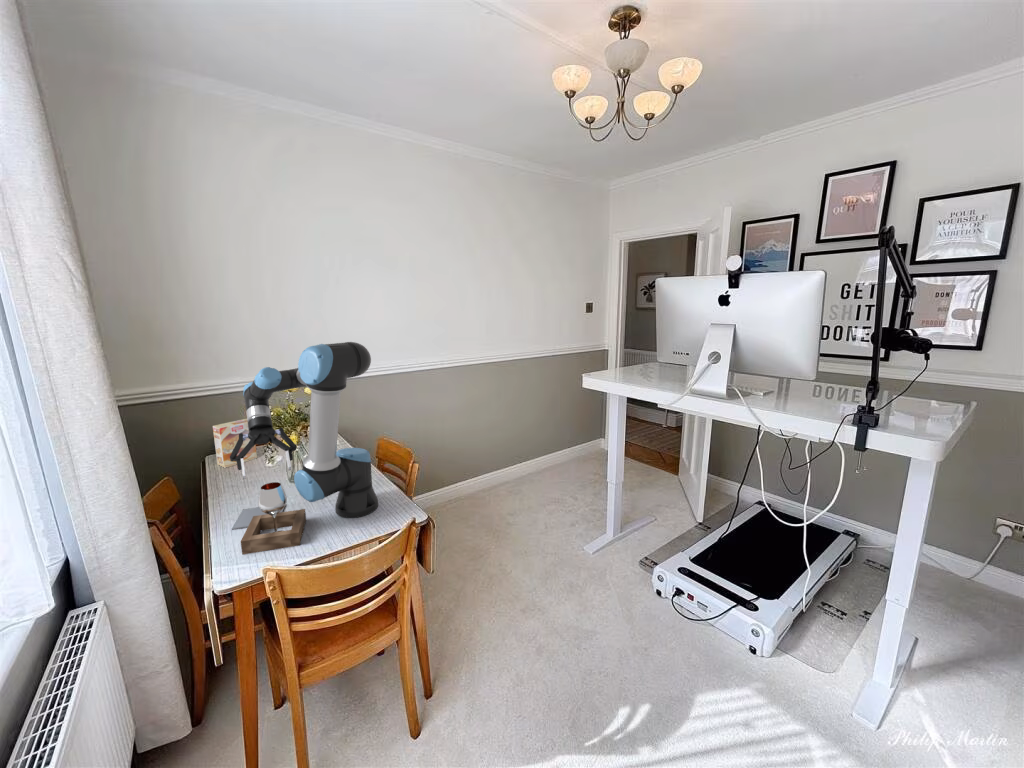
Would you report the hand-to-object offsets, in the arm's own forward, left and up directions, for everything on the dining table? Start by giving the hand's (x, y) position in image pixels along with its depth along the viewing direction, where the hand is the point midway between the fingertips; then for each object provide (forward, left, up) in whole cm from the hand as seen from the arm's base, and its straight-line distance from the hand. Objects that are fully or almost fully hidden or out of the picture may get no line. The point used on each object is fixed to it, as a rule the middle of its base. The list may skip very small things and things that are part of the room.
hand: (267, 473), depth 143 cm
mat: (+5, -6, -19) cm, 20 cm away
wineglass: (-3, +10, -19) cm, 22 cm away
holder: (-3, +10, -19) cm, 21 cm away
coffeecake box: (+27, -68, -19) cm, 75 cm away
